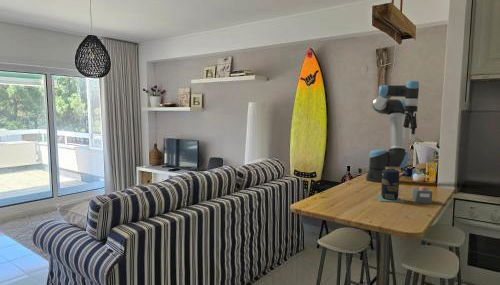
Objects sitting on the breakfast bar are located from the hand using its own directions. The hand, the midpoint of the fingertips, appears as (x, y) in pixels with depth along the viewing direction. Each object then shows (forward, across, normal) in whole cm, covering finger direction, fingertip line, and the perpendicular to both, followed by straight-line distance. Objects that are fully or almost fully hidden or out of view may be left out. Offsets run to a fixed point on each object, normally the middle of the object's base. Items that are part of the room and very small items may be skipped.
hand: (409, 138), depth 220 cm
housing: (+35, +25, +2) cm, 43 cm away
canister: (+34, +25, -16) cm, 45 cm away
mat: (+35, +25, -16) cm, 46 cm away
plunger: (+34, +25, +2) cm, 42 cm away
